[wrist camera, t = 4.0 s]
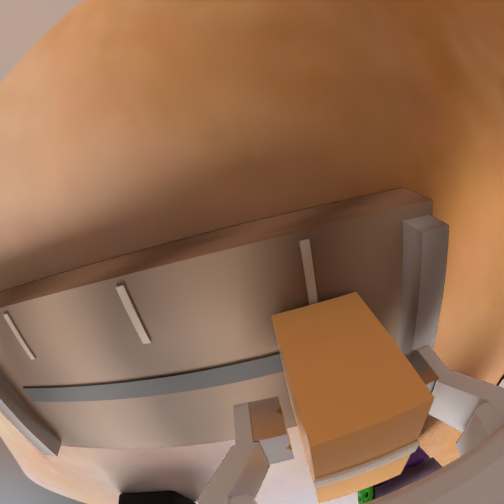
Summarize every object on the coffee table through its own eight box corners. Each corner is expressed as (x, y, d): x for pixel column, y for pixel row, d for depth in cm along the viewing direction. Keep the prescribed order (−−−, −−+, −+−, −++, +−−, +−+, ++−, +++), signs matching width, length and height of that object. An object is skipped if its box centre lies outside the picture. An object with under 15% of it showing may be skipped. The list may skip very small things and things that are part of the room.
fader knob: (357, 291, 10) (438, 399, 5) (357, 383, 12) (402, 475, 7) (269, 315, 10) (308, 451, 5) (290, 403, 12) (318, 506, 7)
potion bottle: (338, 450, 19) (383, 577, 8) (435, 406, 18) (498, 513, 7) (344, 481, 22) (376, 574, 11) (421, 447, 22) (464, 531, 11)
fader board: (403, 187, 11) (453, 209, 8) (396, 362, 15) (421, 400, 12) (-28, 300, 11) (-58, 333, 8) (59, 422, 15) (47, 458, 12)
